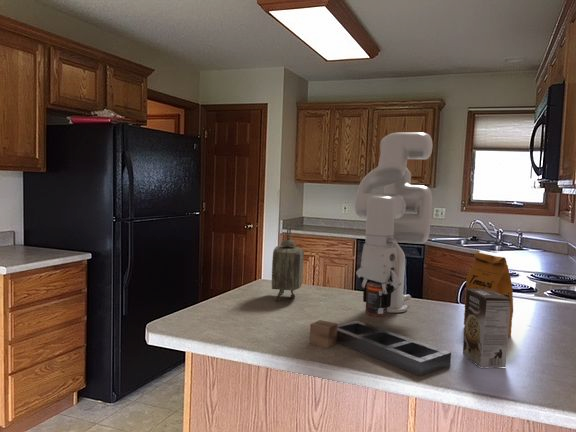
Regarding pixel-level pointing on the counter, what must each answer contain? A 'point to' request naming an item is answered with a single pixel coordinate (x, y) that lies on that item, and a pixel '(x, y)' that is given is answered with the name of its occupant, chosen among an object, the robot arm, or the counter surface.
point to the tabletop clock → (287, 266)
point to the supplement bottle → (374, 299)
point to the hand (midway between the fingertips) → (376, 303)
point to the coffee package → (491, 278)
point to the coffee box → (486, 327)
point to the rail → (393, 348)
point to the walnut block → (323, 333)
